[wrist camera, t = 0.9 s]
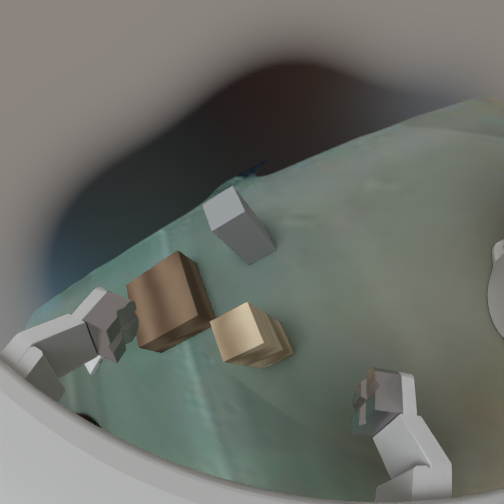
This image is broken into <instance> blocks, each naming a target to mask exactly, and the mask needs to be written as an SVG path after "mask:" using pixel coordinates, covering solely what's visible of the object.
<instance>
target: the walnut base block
mask: <svg viewBox="0 0 504 504" xmlns="http://www.w3.org/2000/svg"><path fill="white" fill-rule="evenodd" d="M126 286H127V292H128V297H129V299H130V300H132V301H135V303H136V308H137V309H136V310H135V311H134V313H135V314H136V315H137V317H138V319H139V328H138V331H137V334H136V337H137V341H138V345H139V348H143V349H147V350H151V351H156V352H160V353H162V352H164V351H166V350H168V349H170V348H172V347H174V346H176V345H177V344H179V343H181V342H183V341H185V340H187V339H189V338H191V337H193V336H195V335H197V334H198V333H200V332H202V331H204V330H206V329H208V328H210V327H211V324H210V321H212V320H214V319H216V318H215V315H214V312H213V309H212V306H211V304H210V301H209V298H208V295H207V292H206V290H205V287H204V284H203V281H202V278H201V275H200V272H199V269H198V266H197V263H195V262H194V261H192V260H191V259H189V258H188V257H187V256H185V255H184V254H182V253H181V252H179V251H176V252H175V253H173V254H172V255H170V256H169V257H167V258H166V259H164V260H163V261H161V262H160V263H158V264H157V265H155V266H154V267H152V268H151V269H149V270H148V271H146V272H145V273H144V274H142V275H141V276H139V277H138V278H136V279H135V280H133V281H132V282H130V283H129V284H128V285H126Z"/></svg>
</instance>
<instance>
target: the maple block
mask: <svg viewBox="0 0 504 504" xmlns="http://www.w3.org/2000/svg"><path fill="white" fill-rule="evenodd" d="M210 324H211V327H212V330H213V333H214V336H215V339H216V342H217V345H218V348H219V350H220V353H221V356H222V359H223V362H228V363H233V364H239V365H245V366H251V367H258V368H266V367H268V366H270V365H272V364H274V363H276V362H279V361H281V360H283V359H285V358H287V357H289V356H291V355H293V354H295V353H294V351H293V348H292V346H291V344H290V342H289V339H288V337H287V335H286V333H285V330H284V328H283V326H282V324H281V322H279V321H277V320H276V319H274V318H272V317H271V316H269V315H268V314H266V313H264V312H263V311H261V310H260V309H258V308H256V307H255V306H253V305H252V304H250V303H248V302H246V303H244V304H242V305H240V306H239V307H237V308H235V309H233V310H231V311H229V312H227V313H225V314H223V315H221V316H220V317H218V318H216V319H214V320H212V321H210Z"/></svg>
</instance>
